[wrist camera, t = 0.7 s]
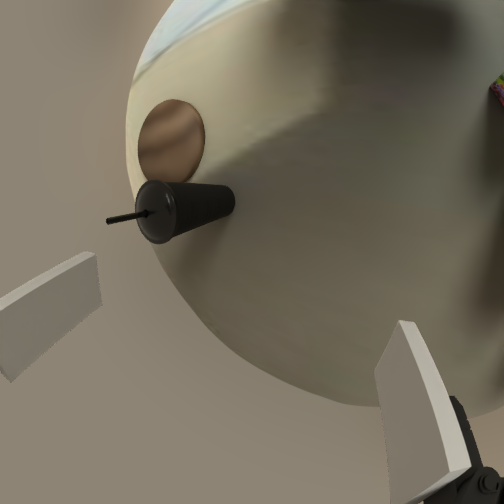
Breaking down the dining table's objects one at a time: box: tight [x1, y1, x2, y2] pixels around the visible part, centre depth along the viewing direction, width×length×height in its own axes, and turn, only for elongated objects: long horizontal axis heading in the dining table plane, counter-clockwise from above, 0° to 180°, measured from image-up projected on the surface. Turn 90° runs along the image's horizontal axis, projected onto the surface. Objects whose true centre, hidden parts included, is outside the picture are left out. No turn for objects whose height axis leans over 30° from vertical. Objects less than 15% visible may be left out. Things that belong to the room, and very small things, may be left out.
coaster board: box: [138, 99, 205, 183], centre depth 43 cm, size 16×16×2 cm
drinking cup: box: [106, 179, 235, 244], centre depth 33 cm, size 8×8×20 cm
